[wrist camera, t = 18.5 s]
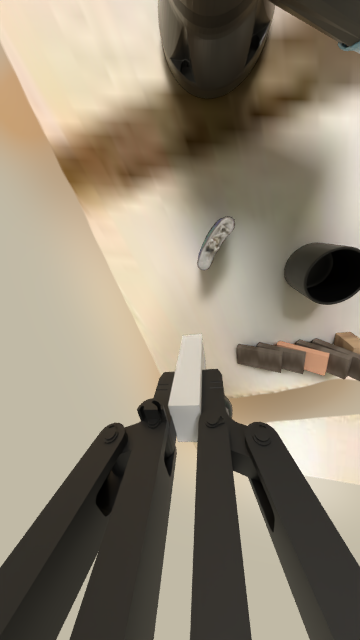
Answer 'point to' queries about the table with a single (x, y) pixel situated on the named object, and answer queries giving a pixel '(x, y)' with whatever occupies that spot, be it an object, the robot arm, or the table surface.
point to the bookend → (348, 341)
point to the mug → (324, 272)
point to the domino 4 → (332, 359)
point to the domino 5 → (356, 371)
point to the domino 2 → (289, 357)
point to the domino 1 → (260, 357)
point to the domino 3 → (310, 358)
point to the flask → (214, 241)
